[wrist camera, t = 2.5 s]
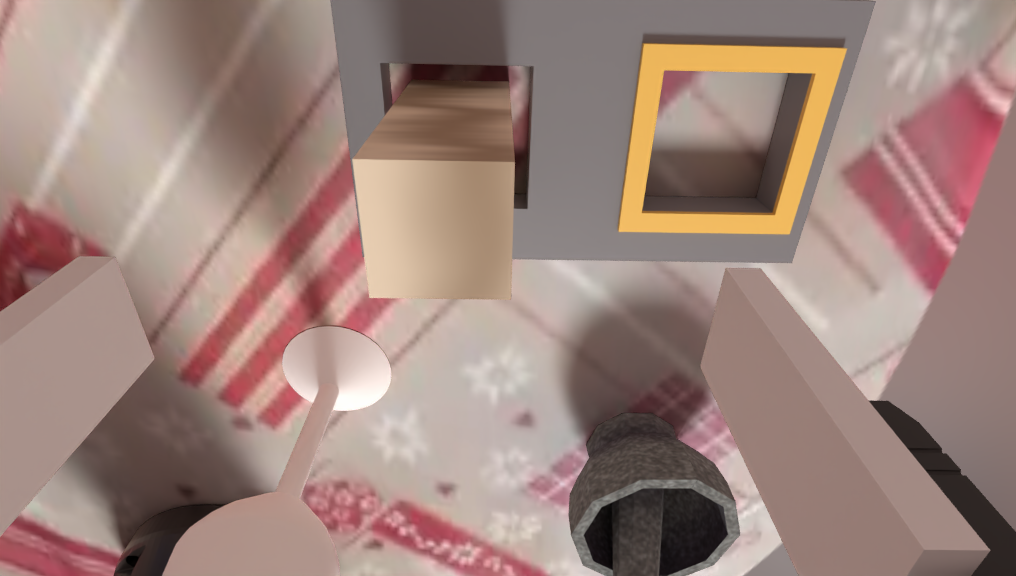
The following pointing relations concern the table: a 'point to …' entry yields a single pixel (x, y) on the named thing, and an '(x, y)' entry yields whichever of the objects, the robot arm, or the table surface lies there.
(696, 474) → the mortar and pestle
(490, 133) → the wooden peg
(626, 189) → the peg board
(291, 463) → the champagne flute
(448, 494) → the table surface
